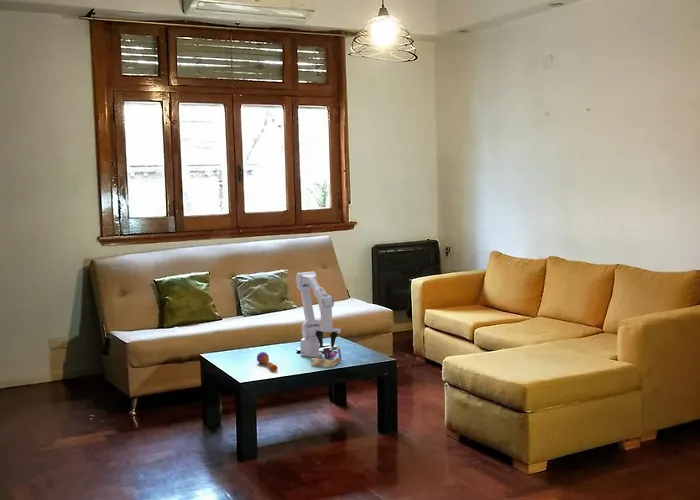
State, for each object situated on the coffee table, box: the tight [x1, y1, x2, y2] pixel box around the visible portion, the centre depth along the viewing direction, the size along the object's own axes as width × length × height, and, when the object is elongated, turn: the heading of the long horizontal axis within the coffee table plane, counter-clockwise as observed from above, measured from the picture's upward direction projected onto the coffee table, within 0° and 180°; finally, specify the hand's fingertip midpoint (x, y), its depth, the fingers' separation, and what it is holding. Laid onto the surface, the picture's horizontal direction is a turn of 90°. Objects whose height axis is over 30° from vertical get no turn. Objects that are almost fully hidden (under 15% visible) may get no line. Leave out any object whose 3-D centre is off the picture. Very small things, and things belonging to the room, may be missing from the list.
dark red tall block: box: [323, 346, 342, 361], centre depth 394 cm, size 7×5×9 cm
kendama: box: [256, 351, 279, 372], centre depth 382 cm, size 6×6×20 cm
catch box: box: [310, 354, 341, 368], centre depth 385 cm, size 11×12×4 cm
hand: (327, 346), depth 386 cm, fingers open, 5 cm apart
